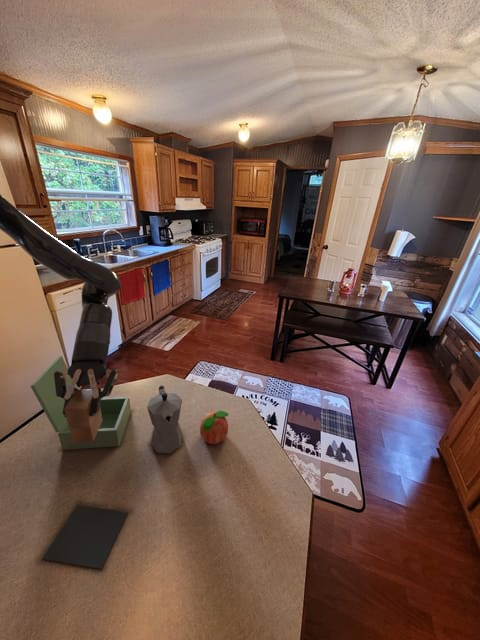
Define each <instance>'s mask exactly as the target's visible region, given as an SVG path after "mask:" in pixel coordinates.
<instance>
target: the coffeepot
mask: <svg viewBox="0 0 480 640" xmlns="http://www.w3.org/2000/svg"><path fill="white" fill-rule="evenodd" d="M158 393H159V394H156V395H154V396H152V397H150V400H149V402H148V404H147V406H146V408H147V412H148V414H149V415H148V416H149V418H150V422H151V425H152V426H153V430H152V435H151V442H150V446H151V447H152V448H153V449H154V451H155V452H156V453H157V454H171V453H172V452H174V451H175V450H177V449H179V448H180V447H181V444H182V440H183V433H182V429H181V425H180V423H179V421H180V417H181V410H182V403H183V399H182V398H181V397H180V396H179V395H178V394H177V393H175V392H166V388H165V385H160V386H159V387H158Z"/></svg>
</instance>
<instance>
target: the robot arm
mask: <svg viewBox="0 0 480 640" xmlns="http://www.w3.org/2000/svg"><path fill="white" fill-rule="evenodd" d="M0 231H2V232H3V233H5V234H6V235H7V236H8V237H10V238H11V239H12V240H13V241H14V242H15V243H16V244H17V245H18V246H19V247H20V248H21V249H22V250H23V251H24V252H25V253H27V254H28V255H29V257H31V258H32V259H34V260H35V261H36V262H37V263H39V264H40V265H41V266H43V267H45V268H47V269H48V270H50V271H51V272H52V273H55V274H56V275H58V276H60V277H61V278H63V279H66V280H69V281H74V280H80V281H82V282H83V285H82V288H81V307H82V311H81V314H80V320H79V325H78V328H77V331H76V333H75V334H76V335H75V339H74V344H73V350H72V355H71V361H70V362H71V363H70V366H69V367H67V368H68V370H66V371H62V372H59V371H56V372H55V373H54V379H55V388H56V396H57V397H61V398H63V399H64V400H65V403H64V408H63V415H65V418H66V414H65V410H64V409H65V407H66V406H67V404H68V403H69V401H70V400H71V398H72V397H73V395H74V394H75V392H76V391H78V390H82V387H85V386H90V389H92V393H93V399H92V401H91V408H90V414H89V416H96V413H98V412H99V409H100V402H101V399H102V398H106V397H109V396H110V395H111V394H112V392H113V389H114V386H115V384H116V382H117V379H118V377H119V375H120V373H119V372H118V371H117V370H116V369H109V368H108V365H107V363H108V356H109V351H110V350H109V349H110V345H111V327H112V320H113V310H112V308H111V307H110V306H109V305H108V301H109V298H111V297H113V296H114V295H116V294H117V293H118V292H119V291H120V290H121V287H122V283H121V279H120V278H119V276H118V275H117V274H116V273H115V272H114V271H113V270H111V269H110V268H108V267H107V266H104V265H102V264H100V263H98V262H96V261H94V260H91V259H88V258H85V257H83V256H82V255H80V253H77V252H76V251H75V250H73V249H72V248H71V247H69V246H68V245H66V244H65V243H63V242H62V241H61V240H58V238H56V237H54V236H53V235H51V234H50V233H49V232H48V231H46V230H45V229H43V228H42V227H41V226H39V225H38V224H37V223H35V222H34V220H32V219H30V218H29V217H28V216H26V215H25V214H24V213H23V212H22V211H20V210H19V209H18V208H17V207H16V206H15V205H13V204H12V203H11V202H10V201H9V200H7V199H6V198H5V197H4V196H3V195H2V194H1V193H0ZM68 375H70V377H71V379H72V381H71V383H70V385H69V387H68V391H67V389H66V381H65V380H67V377H68ZM104 377H106V379H107V380H106V382H105V384H104V387H103V388H102V384H101V380H102V379H103V378H104Z"/></svg>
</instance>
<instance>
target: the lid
mask: <svg viewBox="0 0 480 640" xmlns="http://www.w3.org/2000/svg"><path fill="white" fill-rule="evenodd" d="M68 368H69V367H68V366H67V364H66V362H65V360H64V358H63V356H62V355H58V357H56V358H55V360H53V362H52V363H51V364H50V365H49V366H48V367H47V369H45V370H44V371H43V372H42V373H41V374H40V375H39V377H37V379H35V381H34V382H33V383H32V384H31V385H30V388H31V391H32V392H33V394H34V395H35V397H36V400H37V401H38V403H39V405H40V407H41V408H42V410H43V411H44V413H45V415H46V417H47V419H48V421H49V422H50V424H51V426H52V428H53V430H54V432H55V433H59V431H60V430H61V428H62V427H63V425H64V423H65V422H66V420H67V418H65V415H63V408H64V403H65V400H64V399H63V398H61V397H57V396H56V388H55V379H54V373H55V372H56V371H59V372H62V371H66V370H68ZM65 381H66V389H67V391H68V387H69V385H70V383H71V381H72V379H71V377H70V375H68V377H67V380H65Z"/></svg>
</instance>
